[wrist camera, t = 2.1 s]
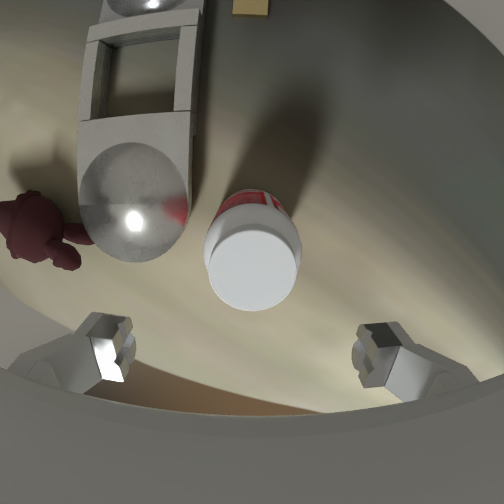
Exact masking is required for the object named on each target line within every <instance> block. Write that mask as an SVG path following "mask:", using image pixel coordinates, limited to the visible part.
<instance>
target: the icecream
mask: <svg viewBox="0 0 504 504" xmlns="http://www.w3.org/2000/svg"><path fill="white" fill-rule="evenodd" d="M0 232H1V233H2V235H3V236H4V237H5V238H6V245H7V248H8V249H9V250H10V252H11V256H12V258H13V259H18V258H23V259H25V260H28V261H30V262H32V263H37V262H41V261H43V260H45V259H47V258H50V259H52V260H53V265H54V266H56V267H61V268H63V269H64V270H71V271H73V270H76V269H78V268H80V266H81V255H80V254H79V253H78V251H77V250H76V249H75V247H73V246H72V245H70V244H67V243H63V242H62V240H63V238H65V239H66V240H68V241H71V242H74V243H76V244H82V245H92V244H95V243H94V242H93V241H92V239H91V238H90V236H89V235H88V233H87V231H86V229H85V227H84V225H83V224H78V223H68V224H64V221H63V218H62V215H61V214H60V212H59V211H58V209H57V208H56V206H55V205H54V204H53V203H52V201H51V200H49V199H47V198H46V197H44V196H42V195H41V193H40V192H39V191H32V190H28V191H27V192H26V193H24V194H20V195H18V196H17V198H16V200H12V201H2V202H0Z"/></svg>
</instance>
